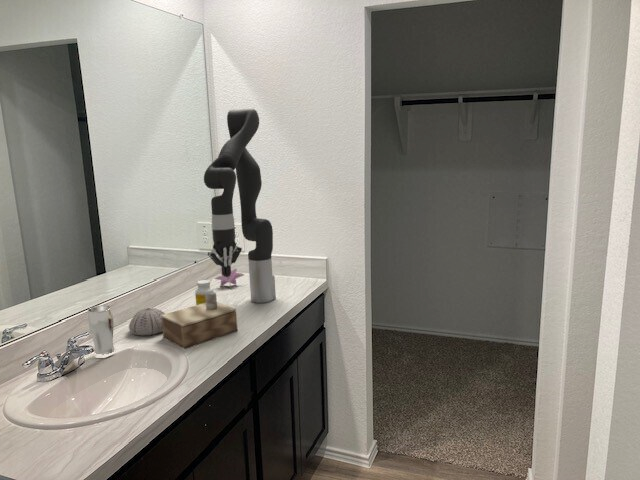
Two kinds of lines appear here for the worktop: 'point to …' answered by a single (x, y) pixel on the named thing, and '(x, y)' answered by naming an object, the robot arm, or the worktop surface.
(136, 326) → the sea urchin shell
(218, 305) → the lid
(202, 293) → the supplement bottle
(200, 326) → the walnut box
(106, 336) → the beer glass
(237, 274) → the lily
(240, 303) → the worktop surface
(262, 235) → the robot arm
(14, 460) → the worktop surface
